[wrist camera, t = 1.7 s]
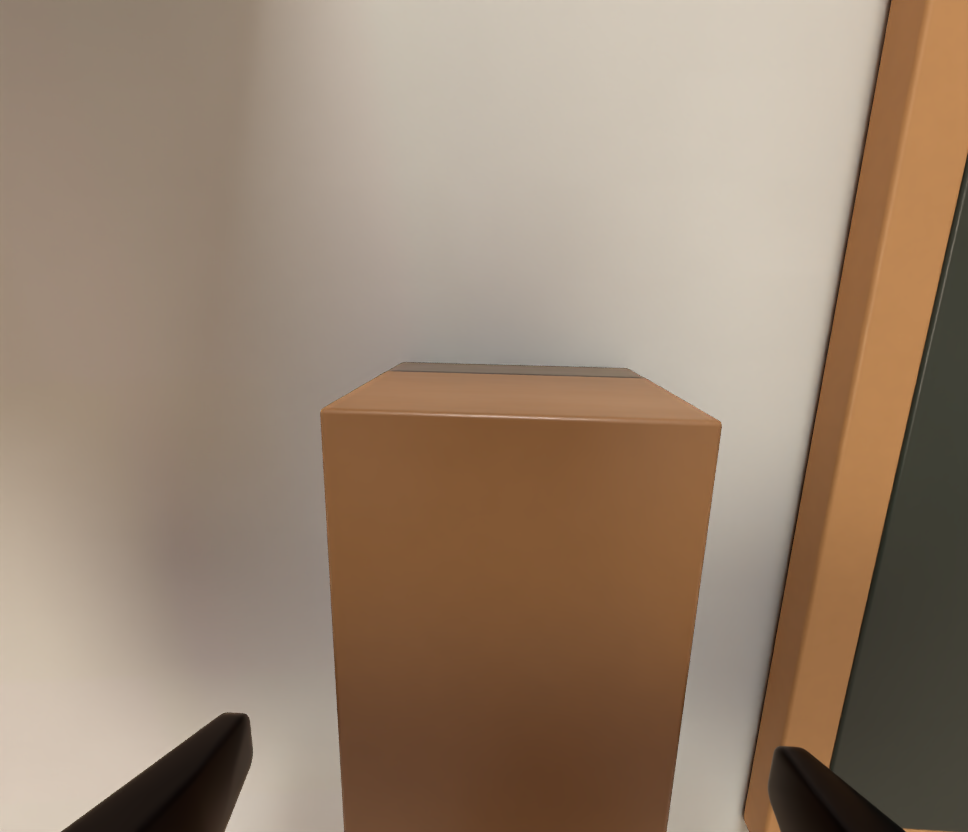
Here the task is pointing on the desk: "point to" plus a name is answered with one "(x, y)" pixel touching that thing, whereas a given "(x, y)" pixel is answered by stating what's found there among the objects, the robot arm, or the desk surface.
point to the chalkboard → (889, 466)
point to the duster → (513, 595)
